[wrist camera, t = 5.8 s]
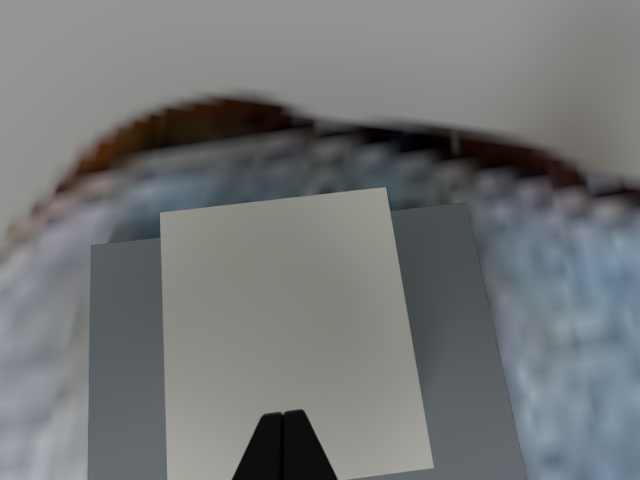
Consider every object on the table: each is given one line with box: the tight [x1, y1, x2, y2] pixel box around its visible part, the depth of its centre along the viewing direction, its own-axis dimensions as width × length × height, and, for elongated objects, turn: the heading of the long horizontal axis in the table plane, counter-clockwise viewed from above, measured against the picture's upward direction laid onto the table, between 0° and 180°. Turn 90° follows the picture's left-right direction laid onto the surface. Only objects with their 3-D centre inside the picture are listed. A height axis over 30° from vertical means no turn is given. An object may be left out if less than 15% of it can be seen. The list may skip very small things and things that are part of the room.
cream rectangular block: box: [160, 187, 434, 480], centre depth 14 cm, size 3×7×8 cm
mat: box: [88, 202, 527, 480], centre depth 14 cm, size 16×14×1 cm
